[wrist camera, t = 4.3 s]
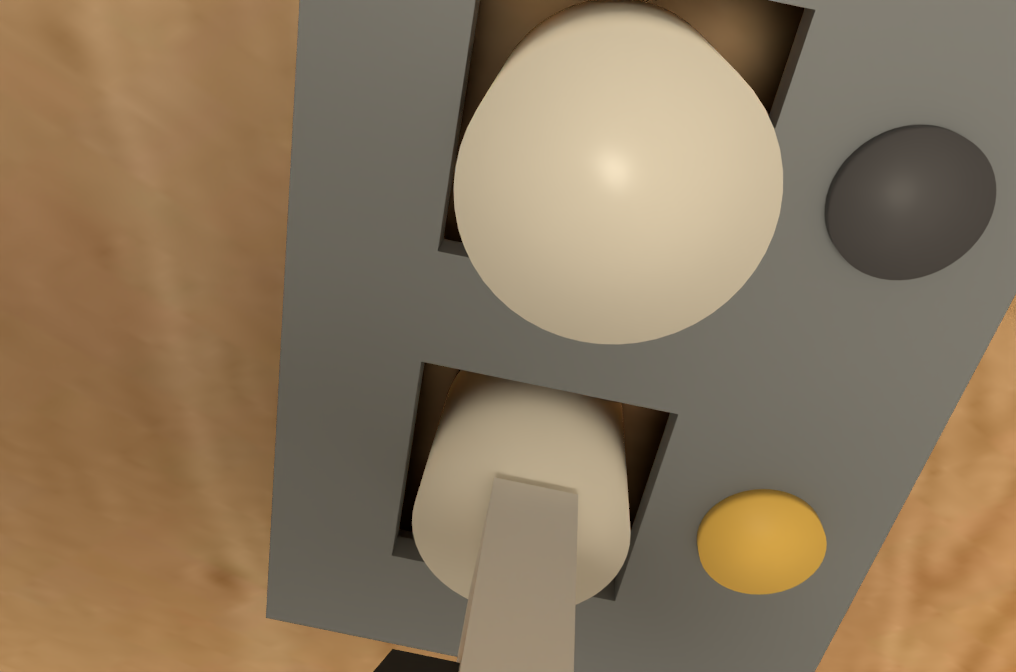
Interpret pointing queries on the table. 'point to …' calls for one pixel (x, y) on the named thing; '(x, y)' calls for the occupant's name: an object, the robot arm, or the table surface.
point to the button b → (617, 176)
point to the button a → (523, 473)
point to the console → (655, 363)
